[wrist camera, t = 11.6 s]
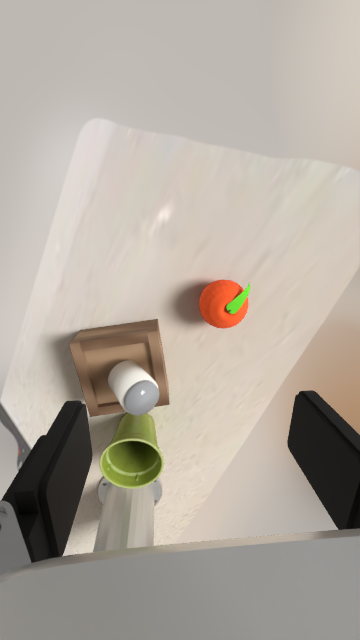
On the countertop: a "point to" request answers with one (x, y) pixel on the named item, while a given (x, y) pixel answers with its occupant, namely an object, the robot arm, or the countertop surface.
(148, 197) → the countertop surface
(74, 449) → the robot arm
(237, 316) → the clementine
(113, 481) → the plant pot
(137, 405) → the white rounded cylinder
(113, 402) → the tray
